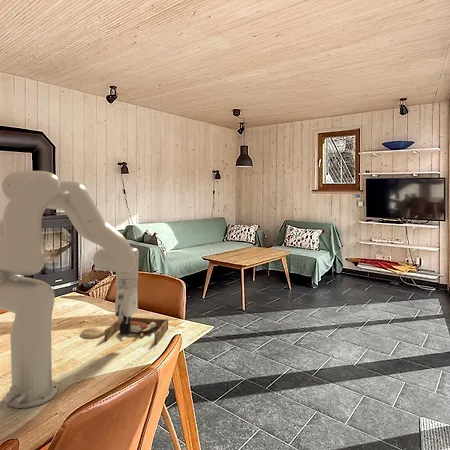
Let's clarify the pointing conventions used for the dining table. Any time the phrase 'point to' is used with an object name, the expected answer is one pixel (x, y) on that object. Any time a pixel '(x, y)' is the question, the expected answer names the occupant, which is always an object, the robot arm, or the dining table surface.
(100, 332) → the oak coaster
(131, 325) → the bull figurine
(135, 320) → the walnut tray
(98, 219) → the robot arm
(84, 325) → the dining table surface
